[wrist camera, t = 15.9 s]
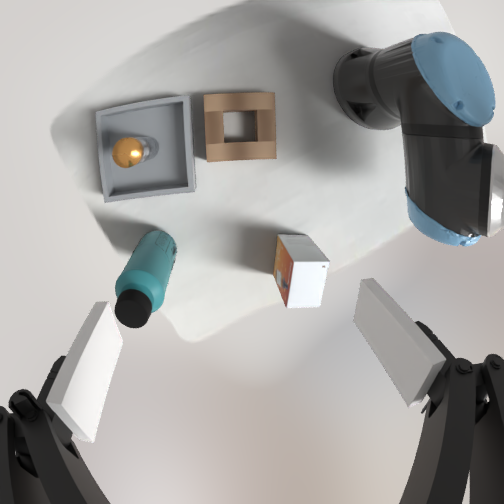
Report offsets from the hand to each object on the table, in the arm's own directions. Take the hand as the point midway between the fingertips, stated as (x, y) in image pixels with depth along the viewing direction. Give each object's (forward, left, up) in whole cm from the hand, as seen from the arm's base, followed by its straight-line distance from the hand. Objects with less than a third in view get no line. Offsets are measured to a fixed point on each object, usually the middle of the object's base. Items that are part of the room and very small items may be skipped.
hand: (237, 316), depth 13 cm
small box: (-11, +12, -32) cm, 36 cm away
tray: (+11, -8, -32) cm, 34 cm away
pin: (+11, -8, -31) cm, 34 cm away
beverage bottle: (+11, +8, -32) cm, 35 cm away
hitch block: (-3, -10, -32) cm, 33 cm away
